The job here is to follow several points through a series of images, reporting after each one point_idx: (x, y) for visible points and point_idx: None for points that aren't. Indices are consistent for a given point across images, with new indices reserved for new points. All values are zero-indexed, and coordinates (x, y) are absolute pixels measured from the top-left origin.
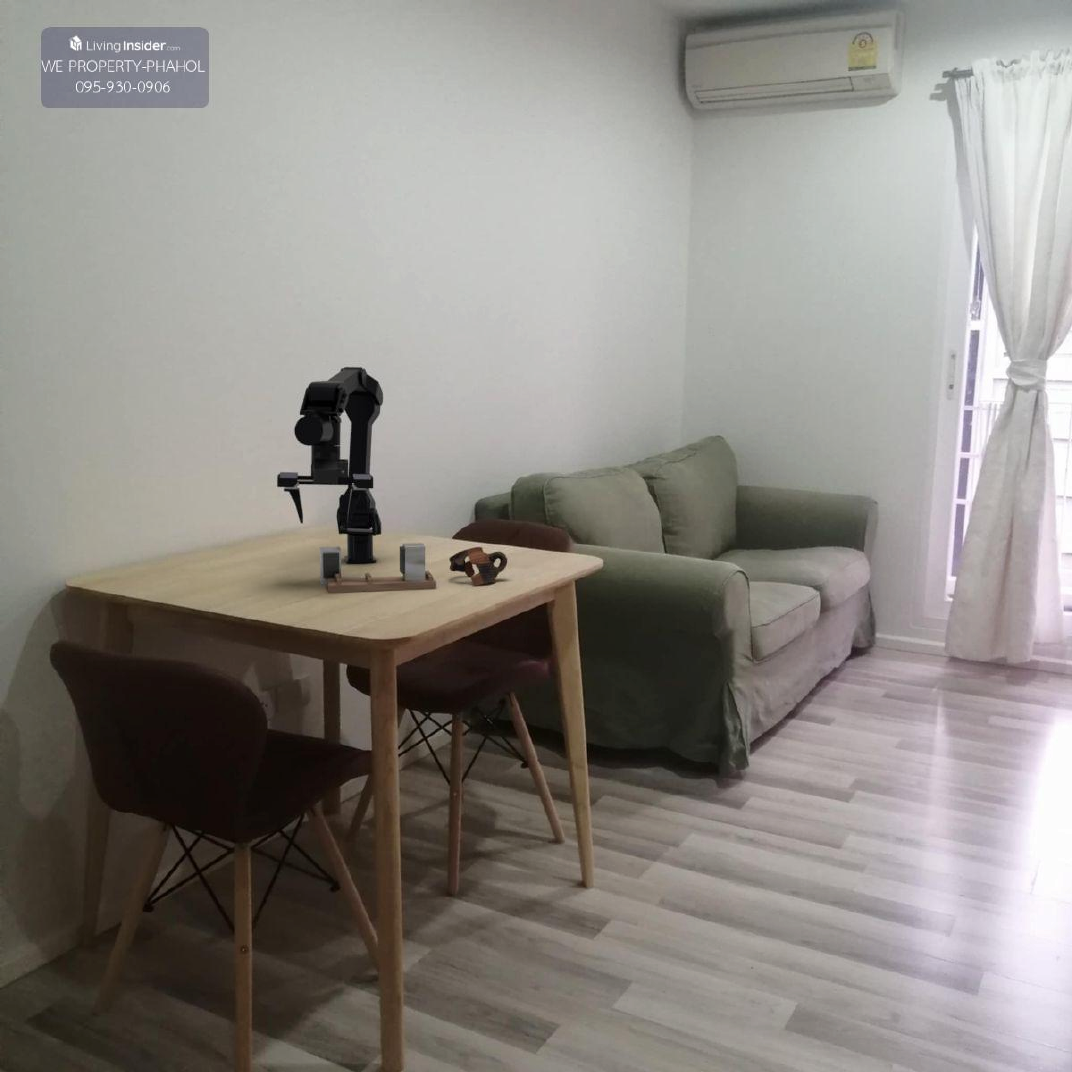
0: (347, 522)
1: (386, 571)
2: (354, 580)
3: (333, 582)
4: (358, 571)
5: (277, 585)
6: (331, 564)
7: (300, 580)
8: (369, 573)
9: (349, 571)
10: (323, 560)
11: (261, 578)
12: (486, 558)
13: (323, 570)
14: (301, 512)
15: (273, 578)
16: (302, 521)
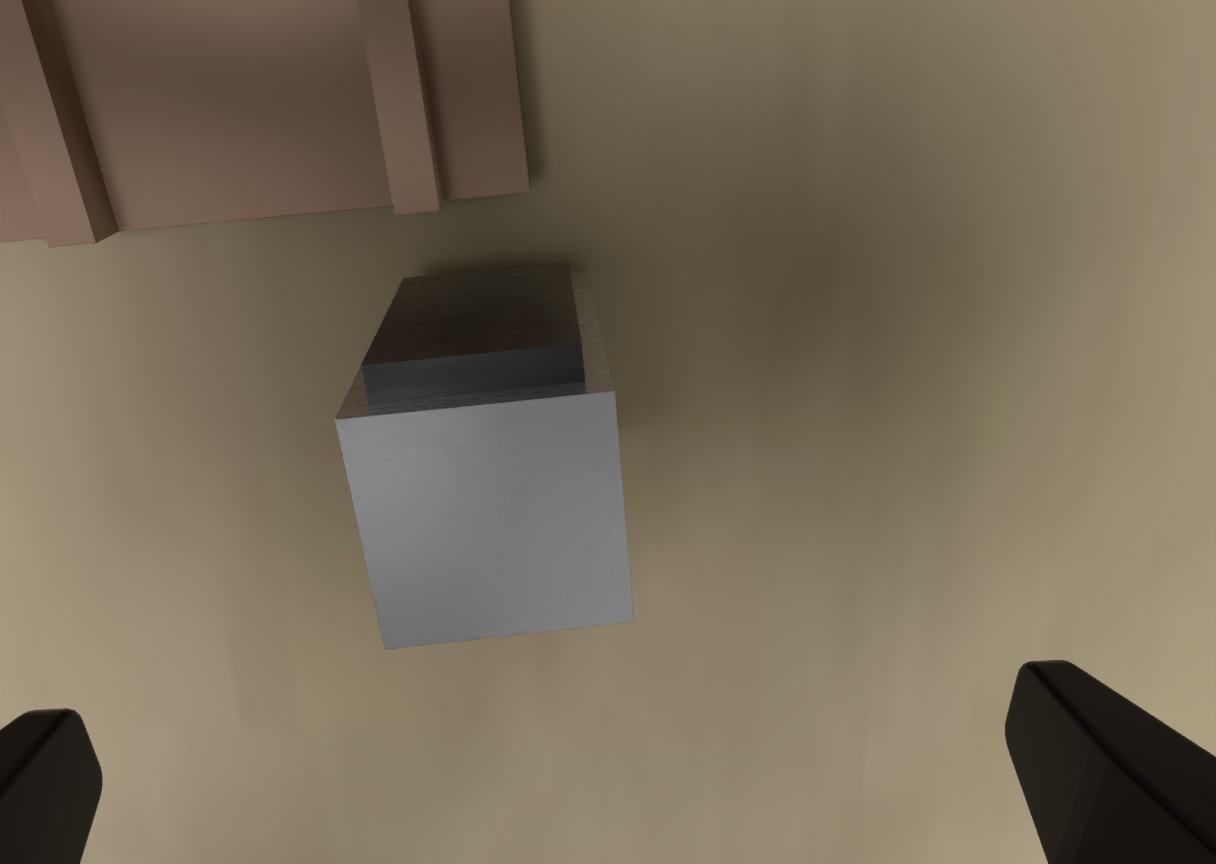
0: (97, 792)
1: None
2: (217, 95)
3: (447, 7)
4: (300, 742)
5: (979, 277)
6: (477, 307)
7: (771, 457)
8: (36, 205)
9: (375, 743)
10: (572, 316)
11: (1073, 545)
12: None
13: (569, 280)
14: (1203, 817)
15: (982, 540)
16: (1046, 680)
